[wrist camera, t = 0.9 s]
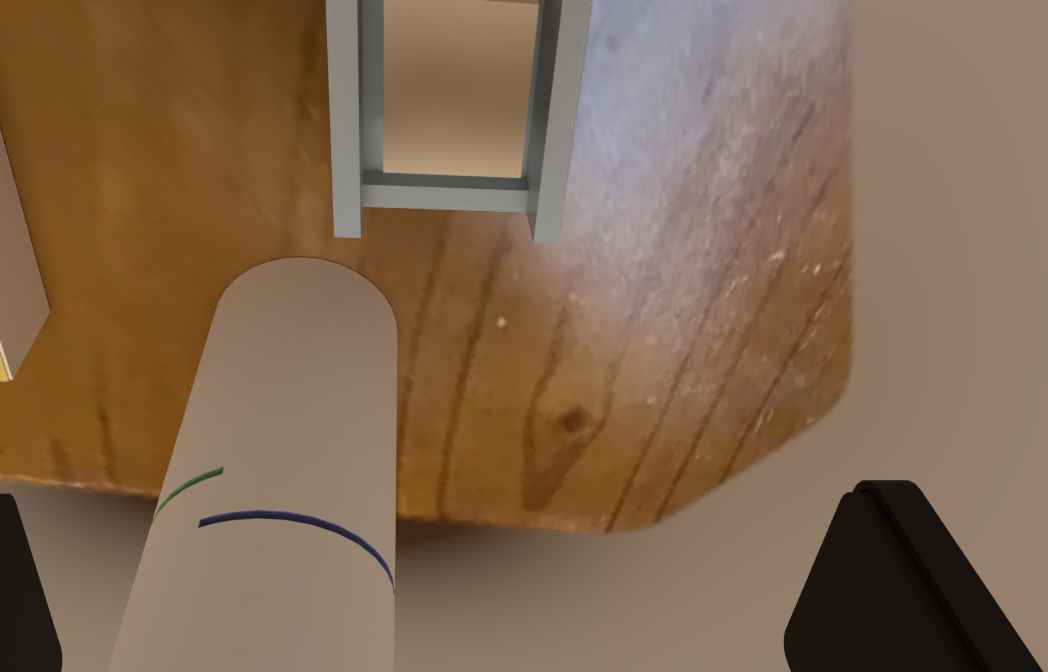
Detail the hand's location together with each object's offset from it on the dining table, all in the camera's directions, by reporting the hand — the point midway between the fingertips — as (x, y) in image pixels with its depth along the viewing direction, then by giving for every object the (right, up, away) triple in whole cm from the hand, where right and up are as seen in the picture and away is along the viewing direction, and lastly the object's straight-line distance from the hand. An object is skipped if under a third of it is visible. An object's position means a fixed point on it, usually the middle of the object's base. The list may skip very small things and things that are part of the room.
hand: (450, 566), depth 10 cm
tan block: (-1, +11, +17) cm, 20 cm away
